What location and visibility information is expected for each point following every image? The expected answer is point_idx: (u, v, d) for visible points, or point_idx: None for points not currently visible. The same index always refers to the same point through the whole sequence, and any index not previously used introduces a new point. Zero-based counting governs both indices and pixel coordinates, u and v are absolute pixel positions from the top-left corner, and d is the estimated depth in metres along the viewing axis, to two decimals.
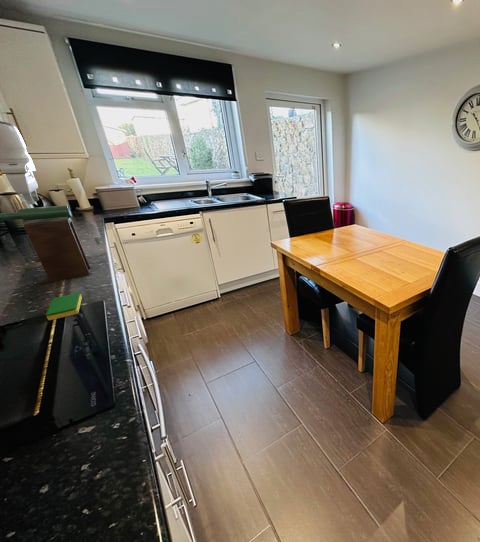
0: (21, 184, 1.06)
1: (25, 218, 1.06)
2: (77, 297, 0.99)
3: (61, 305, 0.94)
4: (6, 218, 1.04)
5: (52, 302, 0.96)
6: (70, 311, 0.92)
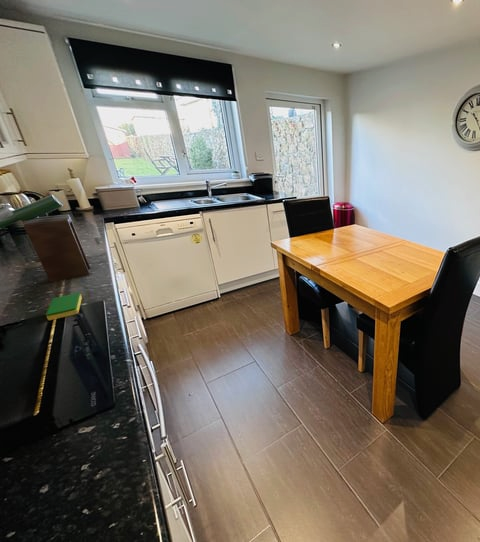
0: None
1: (21, 218, 1.06)
2: (77, 297, 0.99)
3: (61, 305, 0.94)
4: (5, 223, 1.04)
5: (52, 302, 0.96)
6: (70, 311, 0.92)
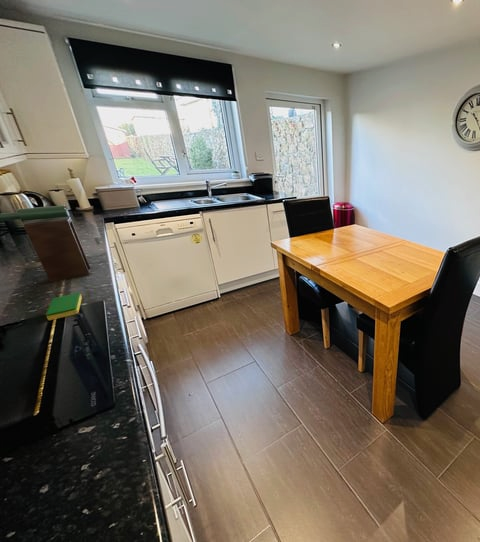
0: None
1: (22, 218, 1.06)
2: (77, 297, 0.99)
3: (61, 305, 0.94)
4: (3, 218, 1.04)
5: (52, 302, 0.96)
6: (70, 311, 0.92)
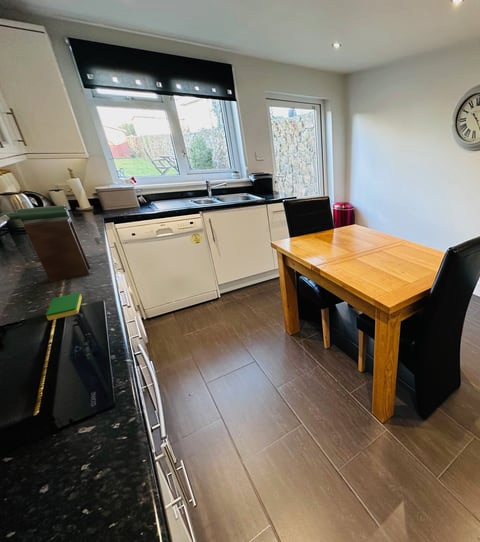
0: None
1: (22, 218, 1.06)
2: (77, 297, 0.99)
3: (61, 305, 0.94)
4: None
5: (52, 302, 0.96)
6: (70, 311, 0.92)
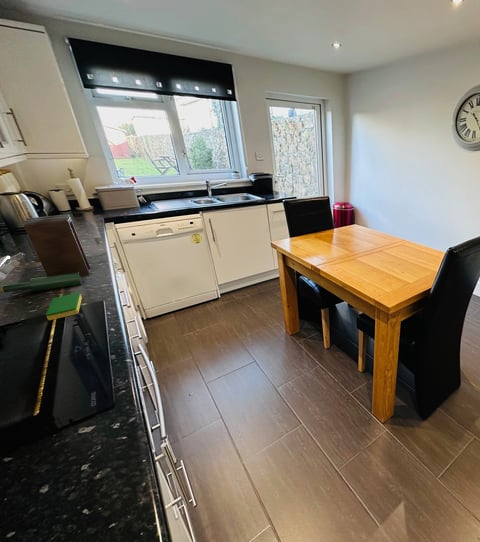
0: None
1: (35, 288, 1.04)
2: (77, 297, 0.99)
3: (61, 305, 0.94)
4: (15, 289, 1.02)
5: (52, 302, 0.96)
6: (70, 311, 0.92)
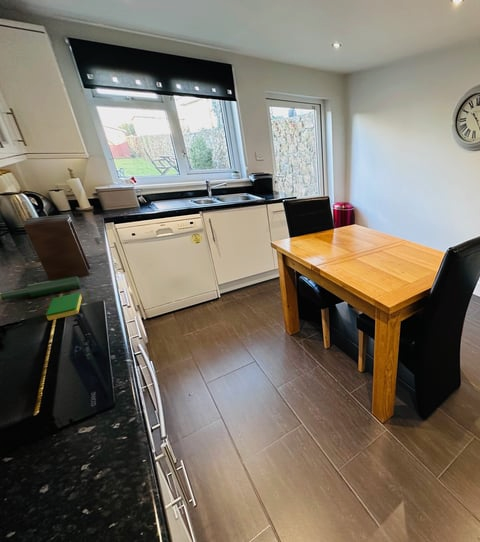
0: None
1: None
2: (77, 297, 0.99)
3: (61, 305, 0.94)
4: None
5: (52, 302, 0.96)
6: (70, 311, 0.92)
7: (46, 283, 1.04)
